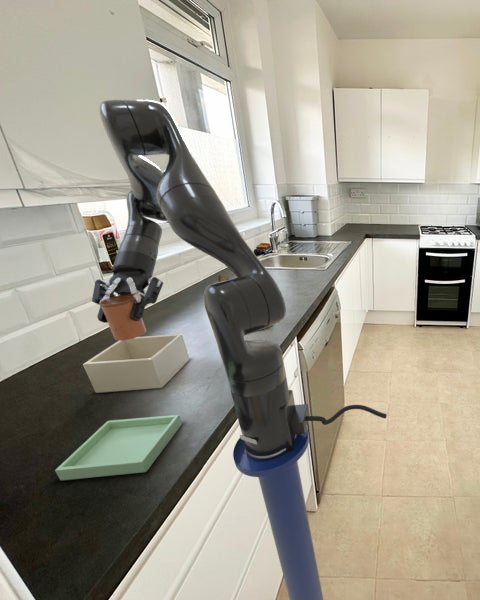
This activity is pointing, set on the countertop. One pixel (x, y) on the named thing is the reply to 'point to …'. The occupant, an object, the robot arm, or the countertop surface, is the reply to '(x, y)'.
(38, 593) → the countertop surface
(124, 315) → the terracotta pot
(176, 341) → the cream storage bin
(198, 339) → the countertop surface
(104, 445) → the shallow green tray
